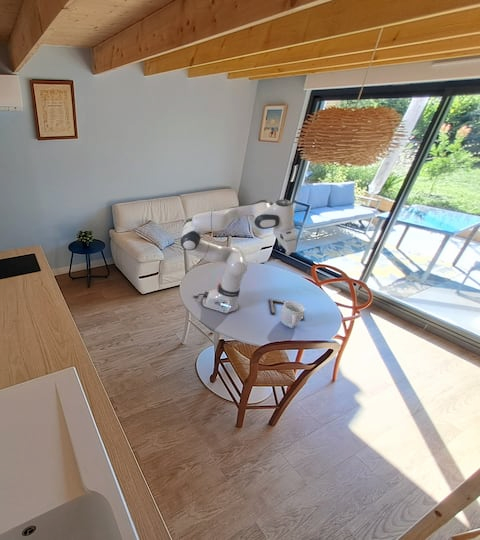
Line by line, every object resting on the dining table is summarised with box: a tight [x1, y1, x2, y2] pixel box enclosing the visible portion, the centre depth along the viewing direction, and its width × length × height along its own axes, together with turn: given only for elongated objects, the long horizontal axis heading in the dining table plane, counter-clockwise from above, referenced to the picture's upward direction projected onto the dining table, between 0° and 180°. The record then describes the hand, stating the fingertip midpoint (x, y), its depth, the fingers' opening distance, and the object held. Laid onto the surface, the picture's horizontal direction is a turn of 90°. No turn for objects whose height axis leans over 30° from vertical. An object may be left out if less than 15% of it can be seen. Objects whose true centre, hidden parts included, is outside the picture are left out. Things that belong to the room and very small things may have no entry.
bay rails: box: [269, 298, 304, 321], centre depth 184 cm, size 18×16×1 cm
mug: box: [280, 300, 306, 329], centre depth 167 cm, size 15×11×13 cm
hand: (284, 249), depth 156 cm, fingers open, 8 cm apart
